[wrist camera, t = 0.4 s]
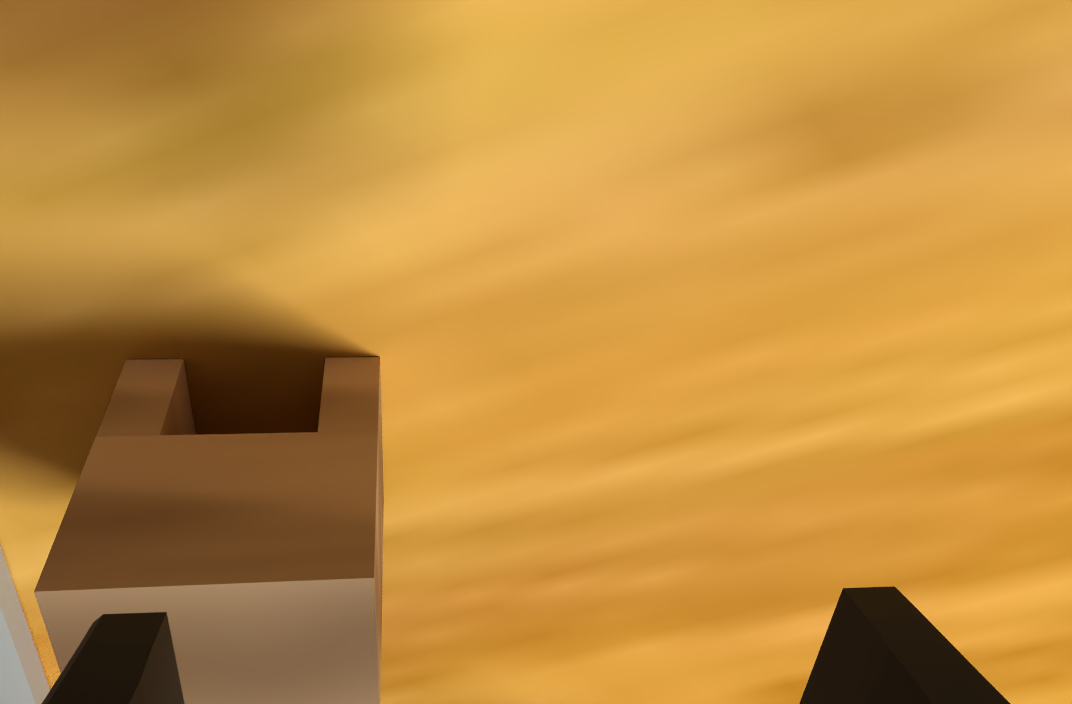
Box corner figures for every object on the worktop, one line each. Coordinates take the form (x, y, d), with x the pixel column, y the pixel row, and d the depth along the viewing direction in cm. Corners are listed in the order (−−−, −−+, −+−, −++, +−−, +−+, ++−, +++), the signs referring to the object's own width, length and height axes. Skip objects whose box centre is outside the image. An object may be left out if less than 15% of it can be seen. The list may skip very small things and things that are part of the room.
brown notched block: (383, 508, 22) (379, 740, 18) (158, 515, 22) (89, 759, 17) (379, 356, 20) (373, 577, 15) (126, 359, 19) (33, 591, 14)
